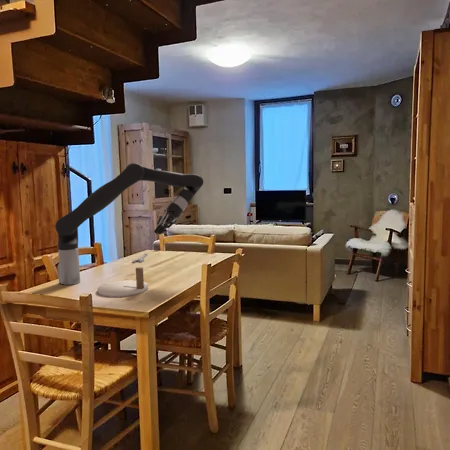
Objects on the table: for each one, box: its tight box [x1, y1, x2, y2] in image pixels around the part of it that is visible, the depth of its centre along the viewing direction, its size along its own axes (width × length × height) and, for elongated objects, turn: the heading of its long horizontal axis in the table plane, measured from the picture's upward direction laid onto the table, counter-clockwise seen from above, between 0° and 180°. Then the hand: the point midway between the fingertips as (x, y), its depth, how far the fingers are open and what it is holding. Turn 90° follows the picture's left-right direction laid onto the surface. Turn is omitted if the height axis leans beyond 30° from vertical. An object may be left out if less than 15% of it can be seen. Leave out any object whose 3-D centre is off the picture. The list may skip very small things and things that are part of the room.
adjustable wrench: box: [132, 253, 149, 264], centre depth 262 cm, size 25×6×2 cm, turn 173°
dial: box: [97, 266, 149, 298], centre depth 185 cm, size 22×22×10 cm
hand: (157, 233), depth 202 cm, fingers open, 2 cm apart
